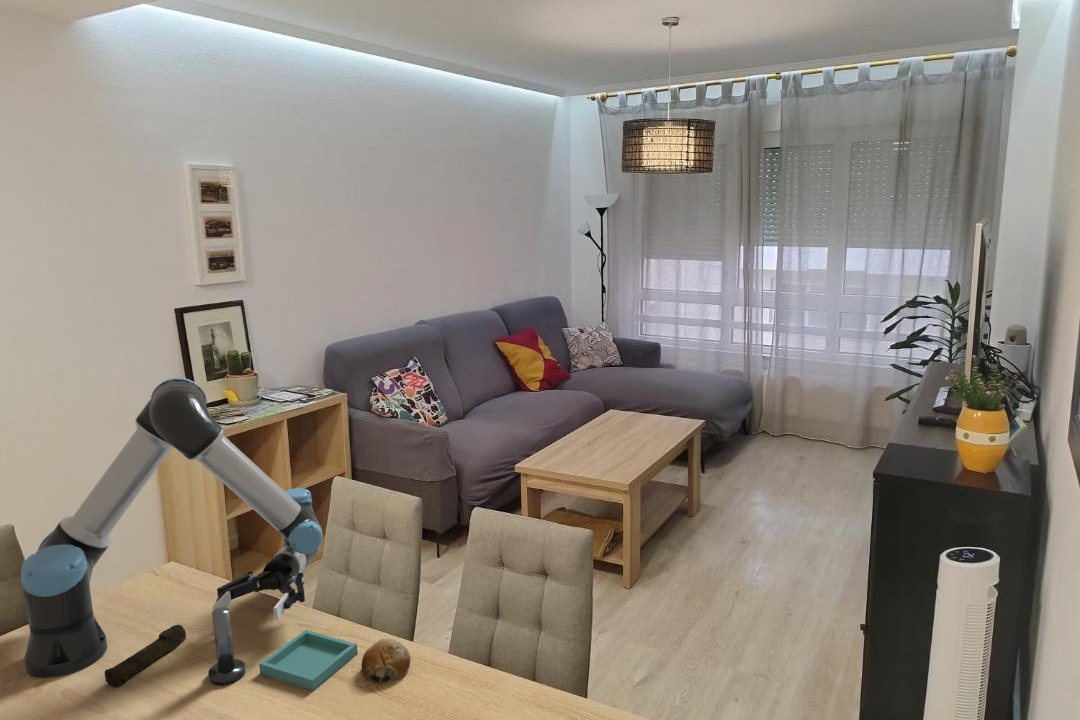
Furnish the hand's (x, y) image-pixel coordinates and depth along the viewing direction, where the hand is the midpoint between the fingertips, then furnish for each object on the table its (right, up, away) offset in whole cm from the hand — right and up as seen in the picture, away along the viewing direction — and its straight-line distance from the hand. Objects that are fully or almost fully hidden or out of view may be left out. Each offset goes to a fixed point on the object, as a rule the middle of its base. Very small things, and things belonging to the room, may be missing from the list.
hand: (245, 613), depth 168 cm
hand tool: (-20, -10, -2) cm, 22 cm away
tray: (+15, -9, -4) cm, 18 cm away
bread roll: (+32, -10, -6) cm, 34 cm away
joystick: (-1, -10, -8) cm, 13 cm away
